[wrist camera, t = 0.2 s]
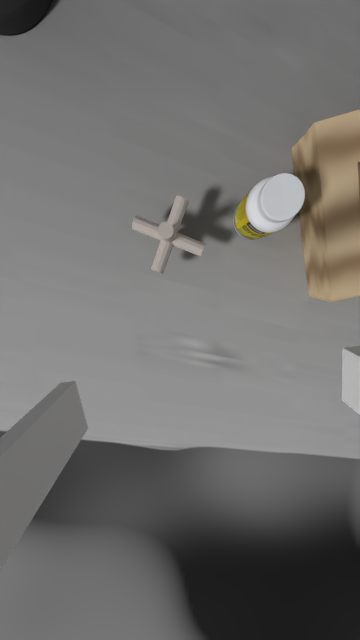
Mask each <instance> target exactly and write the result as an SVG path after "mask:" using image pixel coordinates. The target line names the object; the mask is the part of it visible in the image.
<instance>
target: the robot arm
mask: <svg viewBox="0 0 360 640" xmlns="http://www.w3.org/2000/svg"><path fill="white" fill-rule="evenodd" d="M50 2H51V0H0V35H14V34H18V33H22V32H24V31H26V30H28V29H30V28H31V27H32V26H34V25H35V24H36V23H37V22H38V21H39V20H40V19H41V18H42V16H43V15H44V14H45V12H46V10H47V9H48V7H49V5H50ZM342 400H343V401H344V402H345V403H346V404H347V405H349V406H350V407H351V408H352V409H353V410H355V411H356V412H357V413H358V414H359V415H360V346H356V347H348V348H343V366H342ZM87 429H88V426H87V423H86V419H85V415H84V412H83V408H82V404H81V401H80V397H79V393H78V390H77V386H76V382H75V381H73V382H65V383H60V384H59V385H58V386H57V387H56V388H55V389H54V390H52V391H51V392H50V393H49V394H48V395H47V396H46V397H45V398H44V399H43V400H41V401H40V402H39V403H38V404H37V405H36V406H35V407H34V408H33V409H32V410H30V411H29V412H28V413H27V414H26V415H25V416H24V417H23V418H22V419H21V420H19V421H18V422H17V423H16V424H15V425H14V426H13V427H12V428H11V429H10V430H8V431H7V432H6V433H5V434H4V435H3V436H2V437H1V438H0V570H1V568H2V567H3V565H4V563H5V562H6V560H7V559H8V557H9V555H10V554H11V552H12V550H13V549H14V547H15V546H16V544H17V542H18V541H19V539H20V537H21V536H22V534H23V533H24V531H25V529H26V528H27V526H28V525H29V523H30V521H31V520H32V518H33V516H34V515H35V513H36V511H37V510H38V508H39V507H40V505H41V503H42V502H43V500H44V499H45V497H46V495H47V494H48V492H49V490H50V489H51V487H52V485H53V484H54V482H55V481H56V479H57V477H58V476H59V474H60V473H61V471H62V469H63V468H64V466H65V465H66V463H67V461H68V460H69V458H70V456H71V455H72V453H73V451H74V450H75V448H76V447H77V445H78V443H79V442H80V440H81V439H82V437H83V435H84V434H85V432H86V430H87Z"/></svg>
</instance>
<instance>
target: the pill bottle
mask: <svg viewBox="0 0 360 640" xmlns="http://www.w3.org/2000/svg"><path fill="white" fill-rule="evenodd" d="M304 199H305V190H304V186H303V184H302V182H301V181H300V180H299V178H297V177H296V176H294V175H292V174H289V173H282V174H278V175H276V176H273V177H268V178H265V179H263V180H262V181H260V182H259V183H257V184H256V185H255V186H254V187H253V188H252V190H251V191H250V192H249V193H248V194H247V195H246V197H245V198H244V199H243V200H242V201H241V202H240V204H239V205H238V206H237V208H236V210H235V213H234V217H233V223H234V227H235V230H236V231H237V233H238V234H239V235H240V236H242V237H243V238H245V239H249V240H255V239H259V238H262V237H264V236H267V235H269V234H272V233H274V232H277V231H279V230H281V229H283V228H284V227H286V226H287V225H288V224H289V223H290V222H291V221H292V219H293V218H294V216H295V215H296V214H297V213H298V212H299V210H300V209H301V207H302V205H303V203H304Z"/></svg>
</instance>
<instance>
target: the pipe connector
mask: <svg viewBox="0 0 360 640" xmlns="http://www.w3.org/2000/svg"><path fill="white" fill-rule="evenodd" d="M188 203H189V201H188V200H187V199H185V198H183V197H181V196H176V198H175V201H174V204H173V207H172V209H171V212H170V215H169V218H168V221H167V222H163V223H161V224H160V225H158V224H156V223H153V222H151V221H148V220H146V219H143V218H141V217H138V216H135V218H134V220H133V223H132V229H133V230H136V231H138V232H141V233H143V234H146V235H148V236H151V237H153V238H156V239H158V240H161V241H160V244H159V247H158V250H157V253H156V256H155V259H154V261H153V264H152V267H151V269H152V270H154V271H157V272H159V273H162V274H163V272H164V269H165V267H166V264H167V261H168V258H169V255H170V253H171V250H172V247H173V246H175V247H178V248H180V249H183V250H185V251H188V252H190V253H193V254H195V255H198V256H201V254H202V251H203V249H204V246H205V243H202V242H200V241H197V240H195V239H193V238H190V237H188V236H185V235H183V234H180V233H178V231H179V228H180V225H181V222H182V219H183V217H184V214H185V211H186V208H187V206H188Z"/></svg>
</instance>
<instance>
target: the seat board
mask: <svg viewBox="0 0 360 640" xmlns="http://www.w3.org/2000/svg"><path fill="white" fill-rule="evenodd" d="M292 157H293V165H294V174H295V176H296V177H297V178H299V180H300V181H301V182H302V184H303V186H304V190H305V199H304V203H303V205H302V207H301V209H300V210H299V216H300V224H301V232H302V241H303V249H304V258H305V266H306V274H307V283H308V291H309V297H313V298H317V299H322V300H326V301H331V302H334V301H338V300H343V299H347V298H352V297H356V296H360V109H359V110H356V111H352V112H349V113H346V114H342V115H339V116H335V117H332V118H328V119H325V120H322V121H318V122H315V123H314V124H313V125H312V126H311V127H310V129H309V130H308V131H307V132H306V133H305V134H304V135H303V137H302V138H301V139H300V140H299V141H298V142H297V143H296V144H295V146H294V147H293V148H292Z"/></svg>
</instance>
